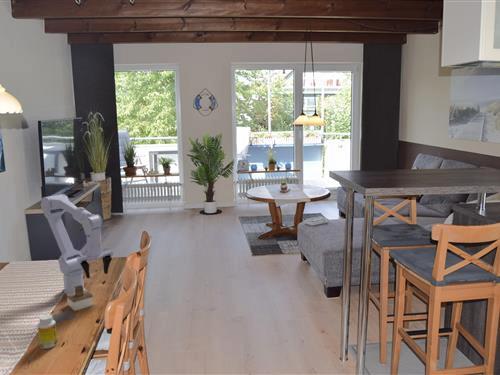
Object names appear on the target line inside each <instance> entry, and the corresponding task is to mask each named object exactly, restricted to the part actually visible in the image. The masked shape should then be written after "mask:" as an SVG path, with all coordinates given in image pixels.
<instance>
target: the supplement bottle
mask: <svg viewBox="0 0 500 375" xmlns="http://www.w3.org/2000/svg"><path fill="white" fill-rule="evenodd" d="M52 315H53V314H44V315H42V316H40V317H39V322H38V324H37V332H38V341H39V342H38V343H39V347H40V348H41V349H50V348H53V347H55V346H56V345H57V344H58V336H57V334H58V333H57V325H56V324H57V323H55V321H54V320H53V318H52Z"/></svg>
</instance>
